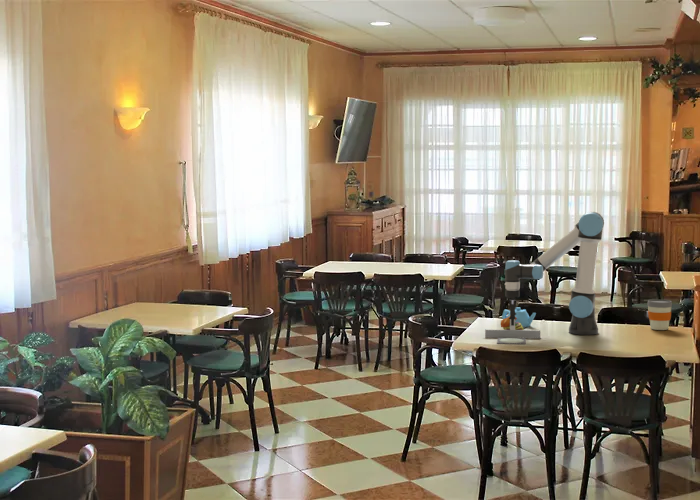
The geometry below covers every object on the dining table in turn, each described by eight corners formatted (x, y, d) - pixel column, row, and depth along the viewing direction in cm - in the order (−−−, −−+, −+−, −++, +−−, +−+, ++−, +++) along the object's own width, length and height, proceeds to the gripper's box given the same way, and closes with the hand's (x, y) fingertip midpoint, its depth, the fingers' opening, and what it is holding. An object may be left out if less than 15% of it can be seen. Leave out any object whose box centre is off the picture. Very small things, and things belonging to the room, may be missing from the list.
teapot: (526, 323, 472) (526, 305, 472) (536, 328, 458) (536, 308, 457) (500, 325, 470) (500, 306, 469) (510, 329, 455) (510, 309, 454)
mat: (525, 339, 424) (525, 338, 424) (525, 344, 410) (525, 343, 410) (497, 338, 427) (497, 337, 427) (497, 343, 413) (497, 342, 413)
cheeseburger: (524, 333, 434) (517, 315, 434) (505, 339, 437) (498, 322, 436) (524, 328, 444) (517, 311, 443) (505, 334, 447) (498, 317, 446)
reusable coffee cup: (646, 329, 446) (646, 302, 444) (647, 326, 457) (647, 299, 456) (671, 330, 441) (671, 302, 440) (672, 327, 452) (672, 299, 451)
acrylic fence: (540, 338, 427) (540, 330, 427) (540, 338, 426) (540, 330, 425) (485, 337, 432) (485, 329, 432) (485, 337, 431) (485, 329, 431)
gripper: (505, 286, 452) (505, 325, 454) (505, 292, 428) (505, 333, 429) (519, 286, 451) (519, 325, 452) (519, 292, 426) (519, 333, 428)
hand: (512, 329), depth 441 cm, fingers open, 13 cm apart
